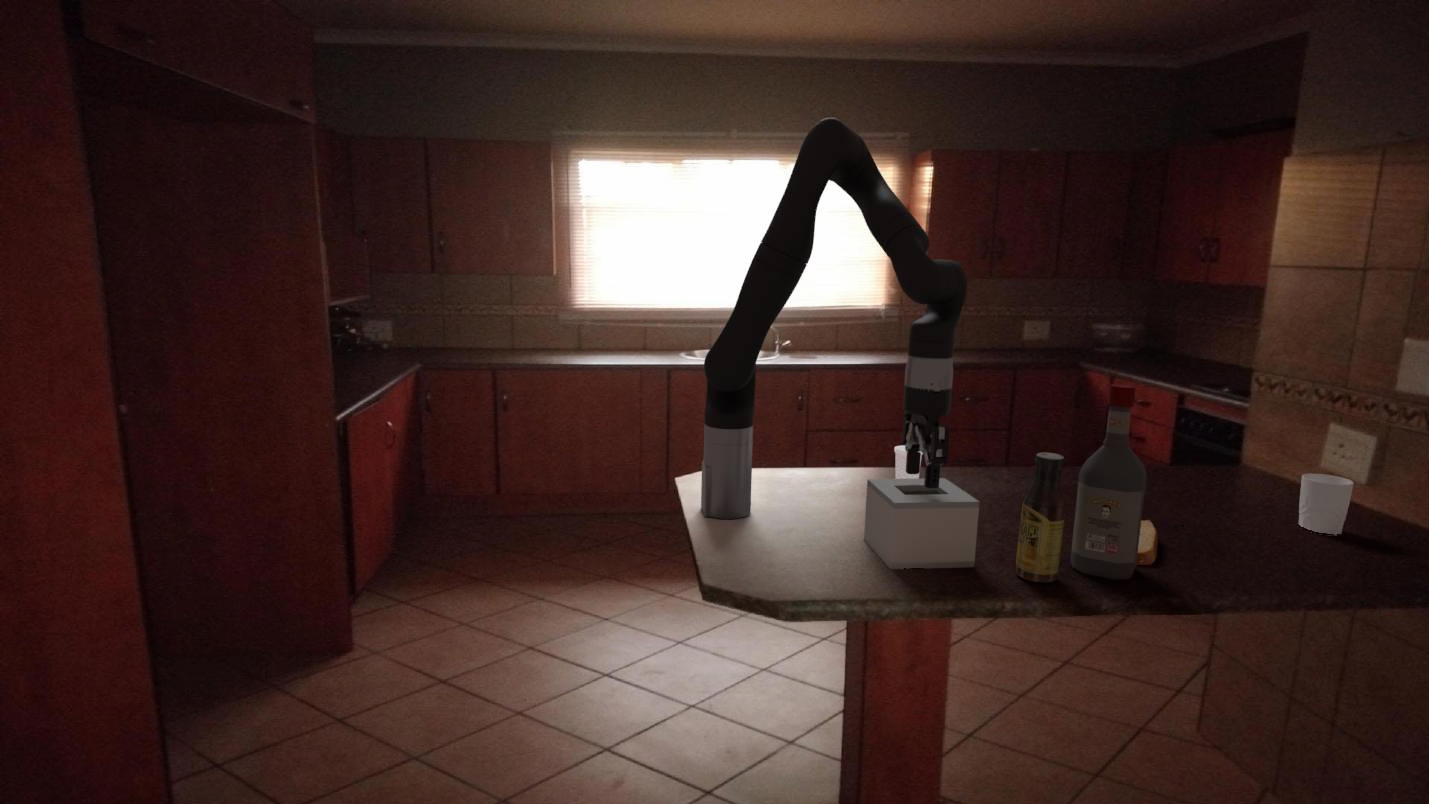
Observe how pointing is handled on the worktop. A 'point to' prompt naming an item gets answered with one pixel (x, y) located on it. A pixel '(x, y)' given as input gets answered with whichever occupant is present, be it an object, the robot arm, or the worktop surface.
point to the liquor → (1110, 498)
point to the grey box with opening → (921, 524)
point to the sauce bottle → (1042, 522)
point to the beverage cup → (903, 464)
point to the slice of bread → (1147, 544)
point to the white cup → (1324, 502)
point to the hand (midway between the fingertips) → (921, 480)
